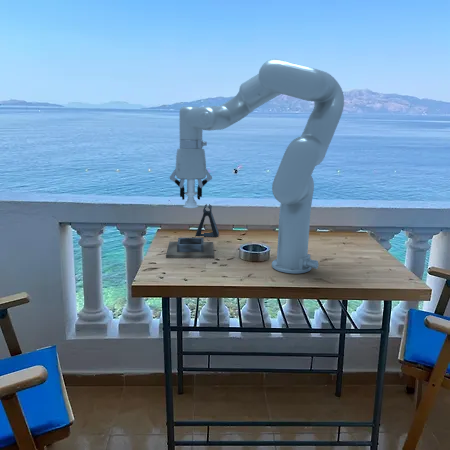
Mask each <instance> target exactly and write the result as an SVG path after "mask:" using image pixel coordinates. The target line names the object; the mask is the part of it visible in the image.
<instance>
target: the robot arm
mask: <svg viewBox="0 0 450 450" xmlns="http://www.w3.org/2000/svg"><path fill="white" fill-rule="evenodd" d="M280 95H284V96H288V97H290V98H291V97H293V98H295V99H299V100H303V101H306V102H313V103H314V106H313V109H312V111H311V112H310V114H309V116H308V118H307V122H306V125H305V127H304V129H303V131H302V134H300V136H298V137H295V138H294V139H293V140H292V141H291V142H289V144H288V146H286V149H285V151H284V153H283V156H282V158H281V161H280V163H279V166H278V167H277V170H276V173H275V176H274V177H273V181H272V184H271V185H272V186H271V187H272V188H271V191H272V194H273V197H274V198H275V200H276V201H277V202H278V203H280V205H279V214H278V215H279V218H278V231H277V232H278V233H277V253H276V259H274V260H273V261H272V262H271V267H272V269H274V270H275V271H278V272H281V273H284V274H285V273H286V274H297V275H298V274H304V273H308V272H310V271H311V270H312V269H316V270H317V269H319V260H317V259H312V258H311V254H309V253H308V251H309V240H310V223H311V213H312V212H311V209H312V202H313V196H314V189H315V183H314V182H315V181H314V178H313V176H312V174H313V173H314V171H315V168H316V167H317V166H318V165H321V163H322V162H323V161H324V159H325V158H326V154H327V151H328V149H329V147H330V144H331V142H332V140H333V137H334V135H335V132H336V129H337V127H338V124H339V123H340V120H341V118H342V115H343V112H344V106H345V96H344V92H343V89H342V87H341V84H340V83H339V82H338V80H336V78H335V77H334V76H333V75H332V74H330V73H329V72H327V71H323V70H320V69H317V68H314V67H310V66H305V65H301V64H296V63H292V62H289V61H285V60H282V59H278V58H272V59H269V60H267V61H265V62H264V63H263V64H262V65H261V66H260V68H259V71H258V73H257V74H255V75H254V76H253V77H251V78H249V79H248V80H246V81H244V82H242V83H241V84H240V86H239V91H238V93H237V94H236V95H235V96H233V97H232V98H230V99H229V100H228V101H226V102H224V103H222V104H221V105H219V106H218V105H217V106H216V105H213V106H211V105H208V106H207V105H206V106H201V107H199V106H182V107H181V108H180V109H179V148H177V149H176V155H175V156H176V157H175V169H174V170H173V172H172V173H171V174H170V175H169V179H170V180H171V181H172V182H174V183H175V185H176V186H178V187H179V196H180V198H181V199H182V201H184V200H185V194H184V192H185V186H184V184H185V181H186V180H187V179H195V180H197V183H198V185H197V187H196V190H197V191H196V192H197V193H198V194H196V195H197V197H196V198H197V200H199V201H200V200H201V198H202V196H203V188H204V186H205V185H206V184H207V183H208V182H210V181H212V179H213V176H212V175H211V173H210V172H209V171H208V169H207V159H206V153H205V152H206V151H205V149H204V147H206V146H207V143H208V142H207V141H204V140H203V131H211V132H212V131H219V130H224V129H226V128H229V127H231V126H232V125H234V124H236V123H238V122H240V121H241V120H242V119H244V118H245V117H247V116H248V115H250V114H251V113H252V112H254V111H255V110H256V109H257V108H259V107H261V106H263V105H265V104H266V103H268V102H270V101H271V100H273V99H274V98H276V97H279V96H280Z"/></svg>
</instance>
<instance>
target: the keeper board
mask: <svg viewBox="0 0 450 450" xmlns="http://www.w3.org/2000/svg"><path fill="white" fill-rule="evenodd" d="M204 238H205V237H178V239H177V241H170V240H169V241H168V247H167V250H166V254H165V258H166V259H215V253H214V242H213V241H204Z"/></svg>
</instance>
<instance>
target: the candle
mask: <svg viewBox="0 0 450 450" xmlns="http://www.w3.org/2000/svg"><path fill="white" fill-rule="evenodd" d="M195 180H196V179H186V191H184V195H186V196H187V199H186V201H185V202H184V205H182V207H183V208H187V209H197V208H199V204H198V203H197V201H196V200H195V197H194V196H196V195H197V194H198V193H197V191H196V187H195V186H196V185H195V184H196V181H195Z"/></svg>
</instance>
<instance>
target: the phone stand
mask: <svg viewBox="0 0 450 450" xmlns="http://www.w3.org/2000/svg"><path fill="white" fill-rule="evenodd" d="M207 206H208V207H207ZM212 207H213V206H212V204H207V203H205V205H204V206H203V210H202V212H203V214H202V216H201V220H200V222H199V225H198V227H197V230H196V232H195V235H194V237H196V236H204V237H203V238H217V237H218V238H219V235H220V234H219V233H220V232H219V231H220V230H219V228H218V227H217V222H216V220H215V218H214V215H213V212H212ZM206 208H208V209H209V210H207V209H206ZM206 217H208V219H209V223H210V227H211V230H212V232H211V231H210V232H211V233H204V234H201V232H202V230H203V227H204V223H205V219H206Z"/></svg>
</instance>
